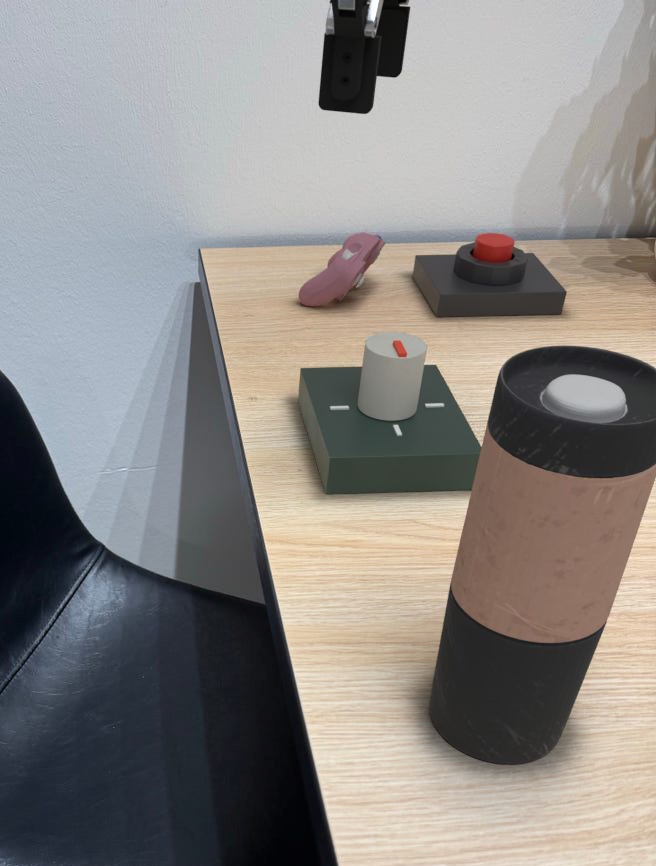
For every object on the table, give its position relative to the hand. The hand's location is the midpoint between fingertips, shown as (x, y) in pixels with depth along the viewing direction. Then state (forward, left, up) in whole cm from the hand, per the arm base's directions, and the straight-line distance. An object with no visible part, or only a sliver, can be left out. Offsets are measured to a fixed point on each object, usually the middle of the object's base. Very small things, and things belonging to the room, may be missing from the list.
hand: (361, 92), depth 65 cm
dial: (-4, +2, -21) cm, 22 cm away
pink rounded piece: (-6, -27, -24) cm, 37 cm away
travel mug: (-4, +32, -24) cm, 40 cm away
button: (-20, -26, -21) cm, 39 cm away
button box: (-20, -26, -24) cm, 41 cm away
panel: (-4, +2, -24) cm, 25 cm away
